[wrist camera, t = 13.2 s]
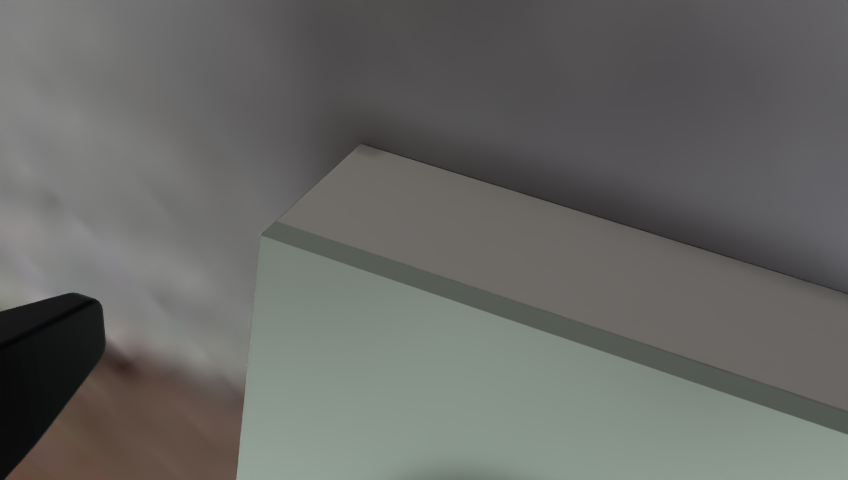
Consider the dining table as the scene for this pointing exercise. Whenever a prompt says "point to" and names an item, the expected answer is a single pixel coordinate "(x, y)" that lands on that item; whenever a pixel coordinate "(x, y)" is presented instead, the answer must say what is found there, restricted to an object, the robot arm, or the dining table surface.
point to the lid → (489, 388)
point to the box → (588, 271)
